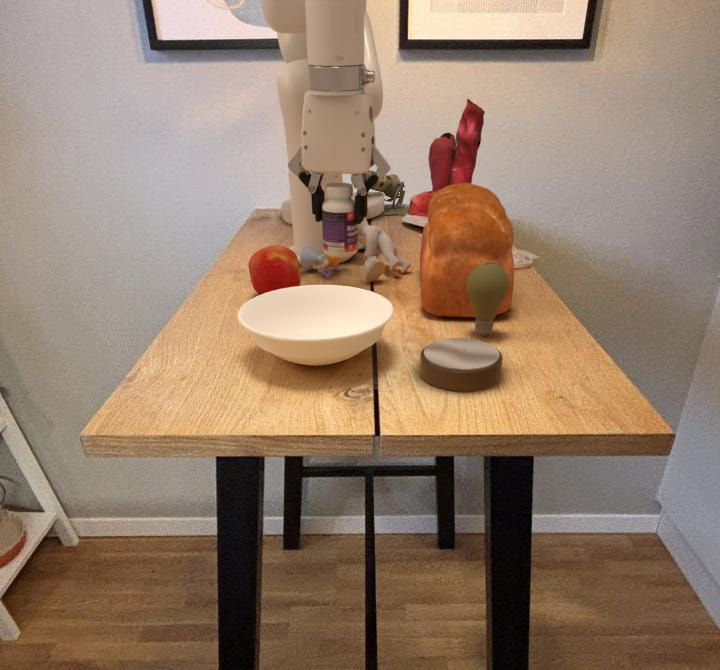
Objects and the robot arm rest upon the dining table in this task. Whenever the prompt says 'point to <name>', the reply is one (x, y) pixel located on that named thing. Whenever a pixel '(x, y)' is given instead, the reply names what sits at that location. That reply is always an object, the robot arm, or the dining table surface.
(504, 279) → the light bulb
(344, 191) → the pill bottle
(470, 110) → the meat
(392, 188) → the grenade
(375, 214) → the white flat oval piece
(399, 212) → the map
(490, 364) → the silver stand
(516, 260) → the stamped metal plate
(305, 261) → the fairy figurine
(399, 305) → the dining table surface
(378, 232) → the figurine
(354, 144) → the robot arm
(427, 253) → the bread
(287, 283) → the apple
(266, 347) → the bowl
